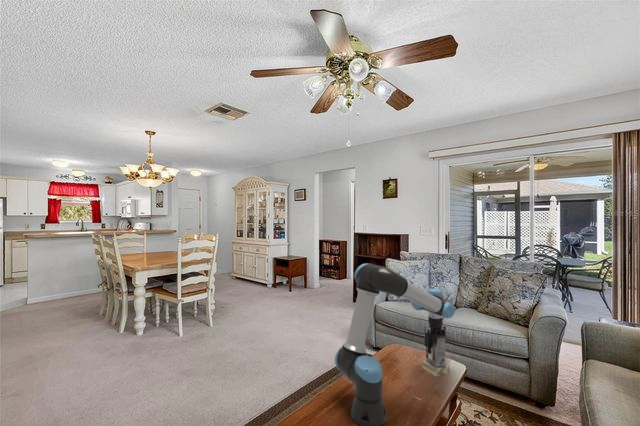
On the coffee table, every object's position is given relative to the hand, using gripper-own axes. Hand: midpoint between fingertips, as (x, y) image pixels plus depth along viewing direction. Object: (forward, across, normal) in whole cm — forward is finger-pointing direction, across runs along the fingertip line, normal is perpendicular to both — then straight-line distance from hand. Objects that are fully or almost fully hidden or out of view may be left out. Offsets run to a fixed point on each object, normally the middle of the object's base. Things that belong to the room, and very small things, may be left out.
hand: (435, 357), depth 165 cm
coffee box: (+3, 0, 0) cm, 3 cm away
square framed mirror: (+7, 0, 0) cm, 7 cm away
